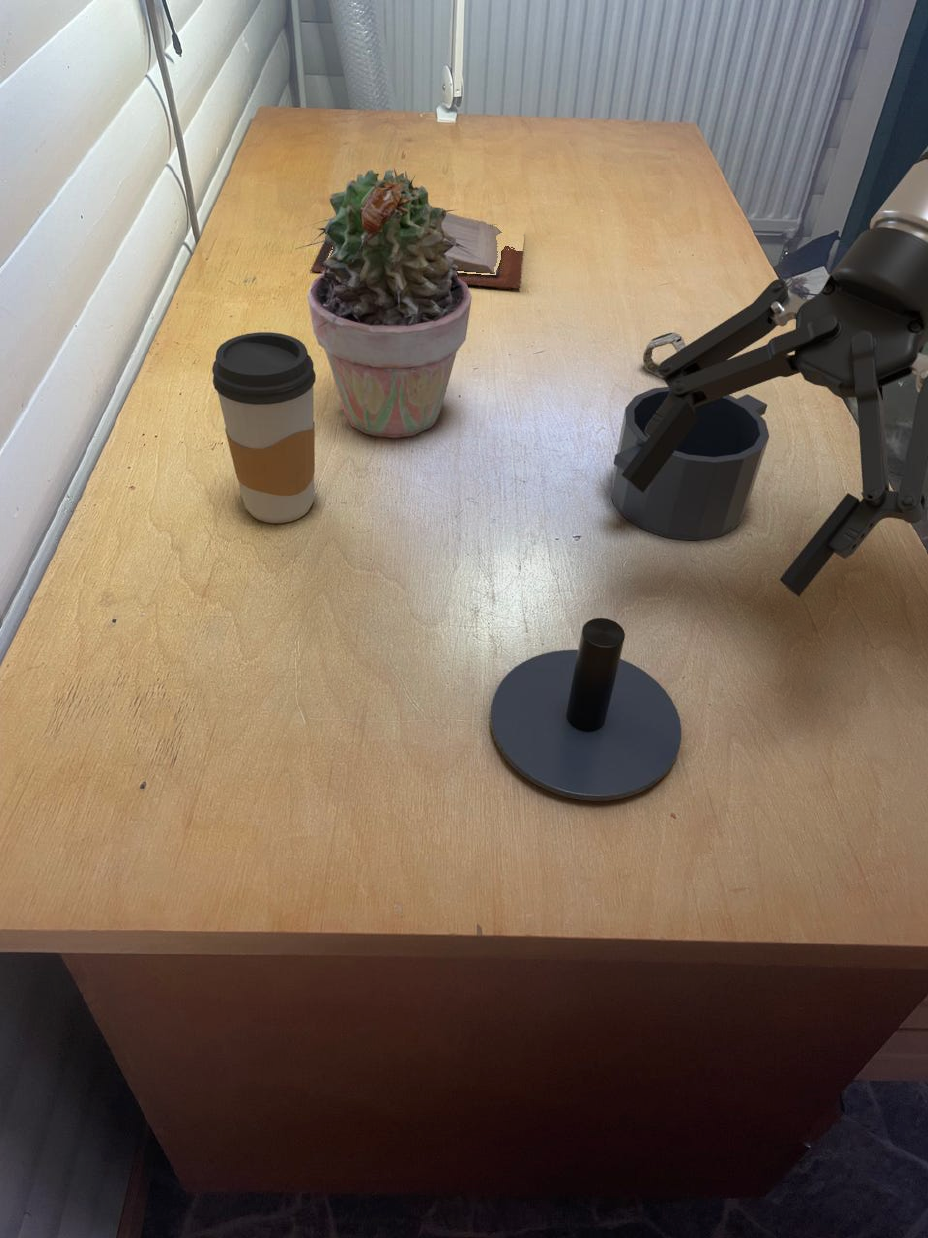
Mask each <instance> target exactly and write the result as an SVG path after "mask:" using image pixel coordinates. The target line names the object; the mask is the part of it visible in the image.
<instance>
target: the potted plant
mask: <svg viewBox="0 0 928 1238" xmlns="http://www.w3.org/2000/svg"><path fill="white" fill-rule="evenodd" d="M393 172H394V175H393ZM379 175H380V173H375V172H374V170H373V169H372V170H368V171H367V172H366V173H365V174H364V176H363V174H361V173H357V175H356V180H354V179H353V180H350V181H349V182H348V183H346V188H345V190H344V191H339V192H336V193H332V194H330V197H329V204H330V205H331V207H332V209H333V211H334V213H335V215H334V216H333V217H331V218H328V219H324V220H322V221H319V222H316V223H312V224H310V225H306V226H304V227H302V229H303V228H304V229H305V228H306V227H310V226H313V225H316V224H319V223H322V222H326V221H328V222H327V223H326V224H325V226H323V227H319V228H318V230H320V231H322V232H320V234H318V236H316V238H315V239H314V241H315V240H317V239H318V238H319V237H321V236H322V235H325V236H324V240H320V241H317V242H314V243H313V242H312V243H310V244H307V245H303V246H300V247H295V250H298V249H303V248H305V247H310V246H313V245H317V244H321V243H324V242H325V241H326V242H327V243H328V244H330V245H331V246H333V249H330V250H328V251H331V250H335V252H334V253H333V254H332V255H331V256H330V257H329V258H328V259H327V260H326V261H325V262H323V264H324V266H326V270H324V271H323V272H320V275H319V276H318V277H316V278H315V279H314V280H313V282H312V283H311V284H310V287H309V291H308V295H307V300H308V306H309V313H310V318H311V319H310V320H311V325H312V326H311V327H312V331H313V334H314V337H315V339H316V341H317V344H318V345H319V347H321V348H322V349H323V350H324V353H325V355H326V359H327V361H328V364H329V367H330V370H331V374H332V377H333V380H334V383H335V386H336V390H337V393H338V396H339V400H340V401H341V405H342V409H343V412H344V414H345V418H346V419H347V421H348V422H349V424H350V426H351V427H352V428H354V429H355V430H357V431H359V432H362V433H363V434H365V435H368V436H371V437H378V438H387V439H401V438H402V439H403V438H410V437H415V436H417V435H418V434H420V433H422V432H425V431H427V430H429V429H432V427H433V426H435V424H436V423H437V420H438V418H439V415H440V413H441V409H442V407H443V402H444V399H445V397H446V392H447V389H448V385H449V382H450V378H451V374H452V371H453V368H454V364H455V359H456V356H457V353H458V351H459V350H460V349H461V348H462V345H463V344H464V343H465V341H466V340H467V333H468V325H469V319H470V312H471V305H472V299H473V295H472V294H471V291H470V289H469V287H468V284H466V283H465V282H463V281H462V280H461V279H459V278H458V276H457V273H458V272H457V268H458V267H457V266H456V265H455V264H453V262H454V260H452V259H451V258H449V257H448V256H446V255H445V254H444V253H446V252H447V251H448V250H450V249H451V248H452V247H453V246H456V247H458V246H459V247H463V248H466V247H464V246H462V245H460V244H458V243H456V239H454V238H455V237H453V238H452V237H451V236H450V235H449V234H448V233H447V231H444V230H442V227H441V226H442V221H443V220H444V218H445V217H446V212H447V213H449V212H452V211H454V209H447V210H446V209H445V208H443V207H435V206H433V205H431V204H430V203H429V191H428V190H427V188H426V187H425V186H423V185H421V186H419V187H417V186H415V187H414V186H413V181H414V179H415V177H416V176H417V175H416V174H415V175H413V177H412V179H411V180H410V179H409V177H408V174H407V171H406V170H404V172H402V173H400V174H398V173H397V171H396V169H395V168H393V170H391V169H387V170H385V172H384V176H383V178H382V179H379V178H378V177H379ZM394 176H395V177H394ZM457 210H459V209H456V211H457ZM298 230H300V228H299V229H298ZM458 239H460V238H458ZM463 240H464V239H463ZM468 241H469V240H468ZM473 242H474V241H473ZM459 247H458V248H459ZM460 249H461V248H460ZM467 249H468V248H467ZM462 250H463V249H462ZM464 251H465V250H464ZM472 251H473V250H472ZM325 252H326V251H325ZM466 252H467V251H466ZM475 252H476V251H475ZM301 253H302V252H301ZM301 253H300V254H299V255H301ZM322 253H323V252H322ZM467 253H469V252H467ZM469 254H471V253H469ZM299 255H297V257H296V258H294V260H295V259H297V258H298V256H299ZM471 255H472V254H471ZM473 256H474V255H473ZM475 257H476V256H475ZM478 259H479V258H478ZM480 260H481V259H480ZM459 274H460V273H459ZM461 275H462V274H461Z"/></svg>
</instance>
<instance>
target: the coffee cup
mask: <svg viewBox="0 0 928 1238" xmlns="http://www.w3.org/2000/svg"><path fill="white" fill-rule="evenodd" d="M314 366H315V364H314V361H313V360H312V356H311V355H310V354H309V353H308V349H307V347H306V345H305V343H303V342H302V341H301V340H300V339H298V338H295V337H294V336H291V335H288V334H284V333H280V332H279V333H278V332H270V331H267V332H264V331H263V332H260V331H259V332H251V333H244V334H241V335H237V336H235V337H232V338H230V339H228V340H226V341H225V342H223V343H221V344H220V346H219V347H218V348H217V349H216V353H215V360H214V362H213V364H212V368H211V369H212V370H211V372H212V375H213V377H212V384H213V386H214V389H215V391H216V392H217V395H218V396H217V397H218V401H219V405H220V409H221V412H222V417H223V421H224V425H225V428H224V429H225V430H224V431H225V434H226V440H227V443H228V447H229V452H230V456H231V460H232V464H233V465H232V466H233V468H234V473H235V476H236V479H237V482H238V485H239V489H240V494H241V499H242V502H243V505H244V508H245V509H246V511H248V513H249V514H250V515H251V516H252V517H254V519H256V520H258V521H261V522H263V523H267V524H268V523H269V524H285V523H290V522H293V521H296V520H298V519H300V518H303V517H304V516H305V515H306V514H307V513H308V512H309V511H310V509H311V507H312V505H313V503H314V501H315V473H316V472H315V470H316V469H315V468H316V467H315V466H316V464H315V463H316V460H315V459H316V453H315V451H316V448H315V446H316V445H315V444H316V443H315V440H316V439H315V438H316V436H315V432H316V431H315V430H316V429H315V426H316V425H315V424H316V423H315V419H314V418H315V417H314V416H315V415H314V414H315V413H314V409H315V407H314V406H315V405H314V385H315V383H316V380H317V379H316V378H317V377H316V375H317V374H316V372H315V369H314Z"/></svg>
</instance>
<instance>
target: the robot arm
mask: <svg viewBox="0 0 928 1238" xmlns="http://www.w3.org/2000/svg"><path fill="white" fill-rule="evenodd" d="M869 228H870V229H867V230H864V231H862V232H861V233H860V234H859V236H858V237H857V238H856V240H854V242H853V243H852V245H851V246H850V248H849V249H848V250H847V252H846V253H845V254H844V256H842V258H841V259H840V261H839V262H838V264H837V265H836V266H835V267H834V269H833V270H832V271H831V272H830V275H829V276H828V278H827V279H826V282H825V283H824V285H823V287H822V289H821V290H820V291H819V292H818V293H817V294H816V295H815V296H812V298H810V299H808V300H805V299H803V298H801V297H800V296H798V295H797V294H795V293H793V292H792V291H790V289H789V287H788V284H787V282H786V281H785V280H784V279H782V278H779V279H775V280H773V281H772V282H770V283H769V284H768V285H767V287H766V288H765V289H764V290H763V291H762V292H761V293H760V295H758V297H757V298H755V300H754V301H753V302H752V303H750V304H749V305H748V306H746V307H745V308H743V309H741V310H740V311H738V312H737V313H735V314H734V315H732V316H731V317H729V318H728V319H726V320H724V321H723V322H721V323H720V324H718V325H717V326H715V327H714V328H712V329H711V330H709V331H708V332H706V333H704V334H703V335H702V336H699V338H696V339H695V340H694V341H692V342H691V343H689V344H688V345H686V347H684V348H683V349H681V350H680V351H678V352H677V351H676V352H675V353H674V354H672V355H671V356H669V357H667V358H666V359H665V360H663V361H662V362H661V363H660V364H659V365H658V372H659V374H660V375H661V377H662V378H663V379H662V378H661V379H662V380H663V381H664V382H665V383H666V385H667V387H669V394H668V396H667V398H666V399H665V401H664V402H663V403H662V405H661V406H660V407H659V409H658V410H657V411H656V413H655V414H654V416H653V417H652V419H651V420H650V421H649V422H648V424H647V425H646V428H645V431H644V433H645V434H646V435H647V436H648V437H649V438H648V440H647V441H646V442H645V444H644V445H643V446H642V448H641V449H640V450H639V452H638V453H637V454H636V456H635V457H634V458H633V460H632V461H631V462H630V464H629V465H628V466H627V468H626V469H625V470H624V472H623V473H622V476H623V477H624V478H625V479H626V480H627V481H628V482H629V483H631V484H632V485H633V486H634V487H635V488H636V489H638V490H639V491H641V492H642V493H644V491H645V490H646V489H647V487H648V486H649V485H650V483H651V482H652V481H653V479H654V478H655V477H656V475H657V474H658V473H659V471H660V470H661V469H662V467H663V466H664V465H665V463H666V462H667V461H668V459H669V458H670V457H671V455H672V454H673V453H674V451H675V450H676V449H677V447H678V446H679V445H680V443H681V442H682V441H683V439H684V438H685V437H686V435H687V434H688V433H689V431H690V430H691V429H692V427H693V426H694V425H695V423H696V422H697V420H698V419H699V417H698V415H697V414H696V413H695V407H697V406H700V405H703V404H705V403H708V402H711V401H714V400H716V399H719V398H722V397H724V396H727V395H730V396H731V395H732V394H734V393H738V392H741V391H744V390H746V389H749V388H751V387H754V386H757V385H759V384H762V383H765V382H768V381H771V380H773V379H776V378H779V377H780V378H781V377H782V378H788V377H792V376H795V375H797V374H801V375H802V377H803V379H804V381H807V383H810V384H812V385H814V386H820V387H824V388H827V389H828V391H830V393H832V394H833V395H835V396H836V397H837V398H840V399H842V400H846V399H847V398H851V399H852V398H856V404H857V405H856V406H857V418H858V419H857V420H858V435H859V449H860V452H859V453H860V463H861V464H860V466H861V480H862V492H861V496H862V499H861V500H859V498H858V497H856V496H854V495H852V494H851V493H849V492H847V493H846V494H845V495H844V497H843V499H842V500H841V501H839V504H838V505H837V506H836V507H835V509H834V510H833V511H832V512H831V513H830V515H829V516H828V517H827V519H826V520H825V521H824V522H823V524H822V525H821V526H820V528H818V530H817V531H816V533H815V534H814V535H813V536H812V537H811V539H810V540H809V541H808V542H807V544H806V545H805V546H804V548H803V549H802V550H801V551H800V552H799V554H798V555H797V557H795V559H793V562H792V563H791V564H790V565H789V567H788V568H787V569H786V570H785V571H784V573H783V574H782V575H781V576H780V578H779V581H780V582H781V583H782V584H783V585H784V586H785V588H787V590H788V591H789V592H791V593H793V594H794V595H795V596H797V597H801V595H802V594H803V593H804V591H805V590H806V589H807V588H808V586H809V585H810V584H811V582H813V580H814V579H815V578H816V576H817V575H818V574H819V573H820V571H821V570H822V569H823V568H824V566H825V565H826V564H827V562H828V561H829V560H830V559H831V558H832V556H833V555H834V554H835V555H837V556H838V557H840V558H842V559H843V560H846V559H847V558H848V557H850V556H852V555H853V554H854V553H855V552H856V551H857V549H858V548H859V547H860V545H862V543H863V542H864V540H865V539H866V538H867V537H868V535H869V534H870V533H871V532H872V531H873V530H874V528H875V527H876V525H878V524H879V522H881V521H882V520H884V519H889V518H890V519H895V520H902V521H904V522H906V523H908V524H916V523H919V522H920V521H921V520H923V517H924V513H925V512H926V511H925V510H926V506H927V505H926V504H927V501H928V354H927V353H924V352H923V350H924V347H925V346H926V345H927V344H928V146H927V147H926V148H925V150H924V151H923V152H922V153H921V154H920V156H919V157H918V159H916V161H915V163H914V164H913V165H912V166H911V167H910V169H909V170H908V171H907V173H906V174H905V175H904V176H903V178H902V179H901V181H900V182H899V183H898V184H897V186H895V188H894V189H893V191H891V193H890V195H889V196H888V197H887V199H886V200H885V201H884V202H883V204H882V205H881V206H880V207H879V208H878V210H877V211H876V213H875V214H874V215H873V217H872V218H871V220H870V223H869ZM792 320H795V329H793V330H790V331H787V332H785V333H782V334H779V335H777V336H773V337H772V338H770V340H769V341H768V342H767V344H765V345H763V346H760V347H757V348H754V349H751V350H750V351H746V352H744V353H742V354H739V353H740V352H743V351H744V350H745V349H747V348H748V347H750V346H753V344H754V343H757V342H759V341H760V340H761V339H763V338H764V337H766V336H767V335H769V334H770V333H771V332H772V331H774V329H775V328H777V327H778V326H780V327H785V326H787V325H788V322H789V321H792ZM790 353H793V354H790ZM737 354H739V355H737ZM736 355H737V356H736ZM912 374H914V375H915V379H914V383H915V387H916V388H915V389H916V391H917V392H918V396H917V399H916V404H915V409H914V415H913V420H912V425H911V429H910V435H909V439H908V445H907V449H906V454H905V459H904V464H903V468H902V474H901V478H900V484H899V489H898V491H895V490H890V479H889V477H890V476H889V465H888V464H889V463H888V451H887V438H886V437H887V436H886V423H885V421H886V420H885V413H886V411H885V398H884V397H885V396H884V395H885V394H884V387H885V386H887V385H890V384H892V383H896V381H900V380H903V379H905V378H906V377H909V376H910V375H912Z"/></svg>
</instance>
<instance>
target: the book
mask: <svg viewBox="0 0 928 1238" xmlns="http://www.w3.org/2000/svg"><path fill="white" fill-rule="evenodd" d="M493 225H494V224H492V225H491V223H487V222H485V221H484V220H478V219H472V218H467V217H464V216H460V215H457V214H453V213H450V212H446V217H445V218H444V220H443V221H442V226H441V227H442V230H444V231H447V233H448V234H449V235H450V236H451V237H452V238H453V237H455V238H454V239H456V243H458V244H460V245H462V246H464V247H466V248H463V247H459V246H458V247H459V248H458V247H456V246H453V247H452V248H451V249H450V250H448V251H447V252H446V253H444V254H445V255H446V256H448V257H449V258H451V259H452V260H454V262H453V264H455V265H456V266H457V267H458V268H457V271H464V272H476V273H490V274H495V272H494V267H495V266H496V263H497V258H498V256H497V255H498V254H497V253H498V251H497V247H498V246H497V244H498V243H497V240H496V236H497V235H498V234H500V233H502V232H501V231H500V230H499V229H498V228H497V227H495V226H493ZM458 238H460V239H458ZM463 239H464V240H463ZM468 240H469V241H468ZM473 241H474V242H473ZM320 247H321V248H320V250H319V252H318V254H317V255H316V258H315V259H314V262H313V264H312V266H311V267H310V268H311V269H309V271H310V272H316V273H321V272H323V271H324V270H326V266H324V264H323V262H325V261H326V260H327V258H328V256H329V253H330V251H328V250H330V249H332V247H333V246H331V245H330V244H328V243H327V242H326V241H325V242H323V243H322V246H320ZM460 248H461V249H460ZM467 248H468V249H467ZM511 248H513V247H511ZM511 248H510V247H509V246H505V247H504V249H503V250H502V251H501V260H500V263H499V266H498V268H497V270H496V275H481V274H467V273H460V274H459V273H457V276H458V278H459V279H461V280H462V281H463V282H465V283H466V284H467V285H472V286H473V285H474V286H479V287H487V288H495V289H501V290H506V291H508V290H511V289H521V283H522V281H521V280H522V273H523V271H522V270H523V268H522V267H523V260H524V252H522V251H516V250H514V249H515V248H513V249H511ZM462 249H463V250H462ZM508 249H509V250H508ZM464 250H465V251H464ZM472 250H473V251H472ZM325 251H326V252H325ZM466 251H467V252H469V253H471V254H472V255H471V254H469V253H467V252H466ZM475 251H476V252H475ZM322 252H323V253H322ZM334 252H335V250H333V251H332V253H331V255H332V254H333V253H334ZM331 255H330V256H331ZM473 255H474V256H473ZM475 256H476V257H475ZM478 258H479V259H478ZM480 259H481V260H480ZM461 274H462V275H461Z"/></svg>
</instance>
